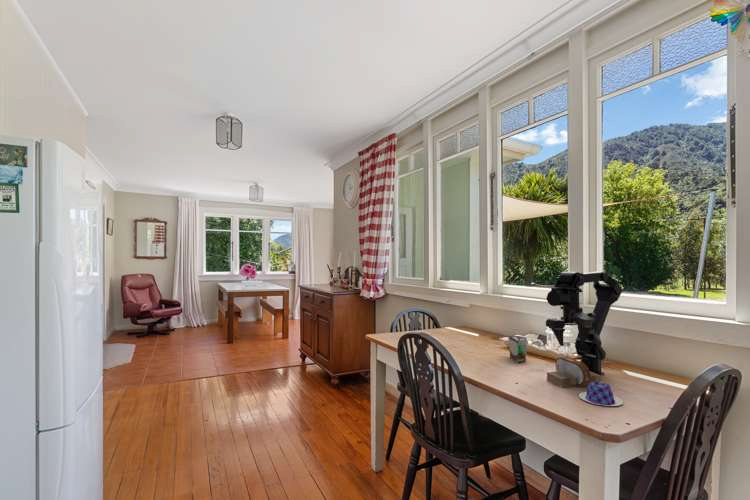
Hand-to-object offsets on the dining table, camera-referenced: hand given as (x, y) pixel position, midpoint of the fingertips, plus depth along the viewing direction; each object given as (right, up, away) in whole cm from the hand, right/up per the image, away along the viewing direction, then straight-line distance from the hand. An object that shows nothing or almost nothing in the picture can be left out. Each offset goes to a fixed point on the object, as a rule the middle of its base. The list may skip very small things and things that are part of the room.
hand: (572, 345), depth 140 cm
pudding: (-4, -12, -23) cm, 26 cm away
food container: (-10, -13, +24) cm, 29 cm away
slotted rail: (-3, -12, -6) cm, 14 cm away
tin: (-3, -12, -6) cm, 14 cm away
